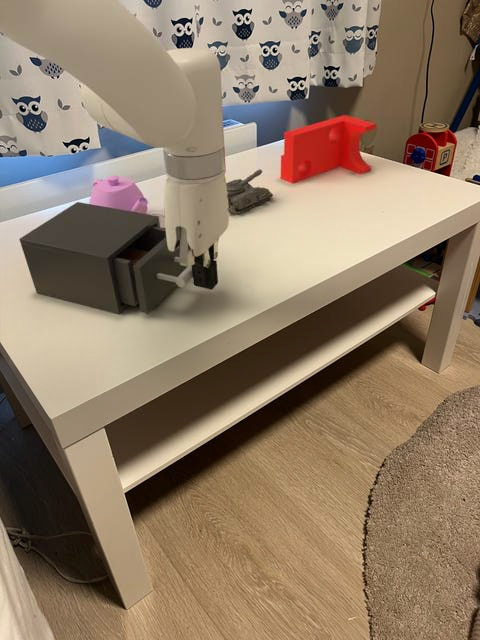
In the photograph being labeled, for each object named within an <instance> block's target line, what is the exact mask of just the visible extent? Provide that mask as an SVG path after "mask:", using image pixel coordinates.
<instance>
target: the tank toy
mask: <svg viewBox="0 0 480 640" xmlns="http://www.w3.org/2000/svg"><path fill="white" fill-rule="evenodd" d="M262 173H263V170H262V168H260V169H257V170H255V172H253V173H252V174H251V175H249V176H247V177H246V178H244V179H241V178H239V179H234V180H231V181H228V182H226V186H227V194H228V206H229V212H231V213H233V214H234V215H239V214H241V213H244V212H245V211H248V210H249V209H252V208H254V207H256V206H258V205H260V204H263V203H265V202H267V201H269V200H271V199H272V198H273V197H274V194H273V193H272V192H271V191H270V189H269V188H266V187H260V186H256V187H254V186H252V185H251V184H250V182H251V181H253V180H254V179H256V178H258V177H259V176H260V175H262Z"/></svg>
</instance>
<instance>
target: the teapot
mask: <svg viewBox="0 0 480 640" xmlns="http://www.w3.org/2000/svg"><path fill="white" fill-rule="evenodd" d="M92 187H93V188H92V191H91V194H90V197H89V203H88V204H92V205H97V206H103V207H109V208H114V209H120V210H126V211H132V212H137V213H143V214H148V210H149V209H148V204H149V201H148V199H147V198H146V197H145V196H144V194H143V192H142V190H141V189H140V188H139V187H138V185H137V184H136V183H135V182H134V181H133V180H132V179H129V178H126V177H123V176H118V175H109V176H107V177H106V179H101V178H98V179H95V180H94V181H93V183H92Z"/></svg>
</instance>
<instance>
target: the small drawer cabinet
mask: <svg viewBox="0 0 480 640" xmlns="http://www.w3.org/2000/svg"><path fill="white" fill-rule="evenodd" d="M160 223H161V222H160V217H159V215H153V214H149V213H146V214H143V213H137V212H132V211H126V210H120V209H114V208H109V207H103V206H97V205H92V204H89V203H85V202H80V201H76V202H75V203H74V204H72V205H70V206H69V207H67V208H65V209H64V210H62V211H61V212H59V213H57V214H56V215H55V216H52V217H51V218H50V219H48V220H47V221H45V222H44V223H42V224H41V225H39V226H37V227H36V228H34V229H32V230H30V231H29V232H28V233H26V234H24V235H23V236H21V237H20V238H19V243H20V246H21V249H22V252H23V255H24V258H25V262H26V264H27V267H28V270H29V274H30V278H31V281H32V283H33V286H34V289H35V292H36V294H40V295H42V296H46V297H50V298H54V299H59V300H61V301H62V300H63V301H66V302H69V303H73V304H78V305H81V306H86V307H90V308H93V309H97V310H101V311H104V312H109V313H112V314H116V315H120V314H121V313H122V312H124V311H125V310H126V309H127V307H129V306H130V305H129V304H125V303H121V302H120V298H119V293H118V288H117V284H116V279H115V274H114V269H113V264H112V259H113V258H115V257H116V256H117V255H118V254H119V253H121V252H122V251H123V250H124V249H125V248H127V247H128V246H129V245H130V244H132V243H133V242H134V241H135V240H136V239H138V238H139V237H140V236H141V235H142V234H144V233H145V232H146V231H147V230H149V229H150V228H151V227H152V226H156V227H161V224H160Z"/></svg>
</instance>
